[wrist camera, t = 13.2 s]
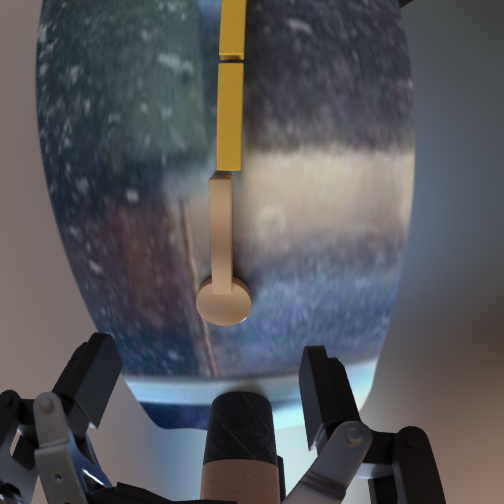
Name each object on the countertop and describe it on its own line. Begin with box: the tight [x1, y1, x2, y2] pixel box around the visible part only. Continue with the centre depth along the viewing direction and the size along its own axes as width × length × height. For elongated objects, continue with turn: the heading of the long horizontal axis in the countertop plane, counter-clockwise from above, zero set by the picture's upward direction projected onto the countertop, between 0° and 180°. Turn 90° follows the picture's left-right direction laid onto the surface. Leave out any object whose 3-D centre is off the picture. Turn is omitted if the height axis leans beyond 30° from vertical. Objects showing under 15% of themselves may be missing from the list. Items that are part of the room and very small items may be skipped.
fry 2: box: [217, 63, 244, 171], centre depth 16 cm, size 7×2×2 cm, turn 178°
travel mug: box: [200, 392, 280, 504], centre depth 20 cm, size 8×8×20 cm
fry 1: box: [219, 0, 246, 60], centre depth 13 cm, size 7×2×2 cm, turn 178°
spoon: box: [196, 175, 252, 326], centre depth 20 cm, size 12×4×2 cm, turn 178°
